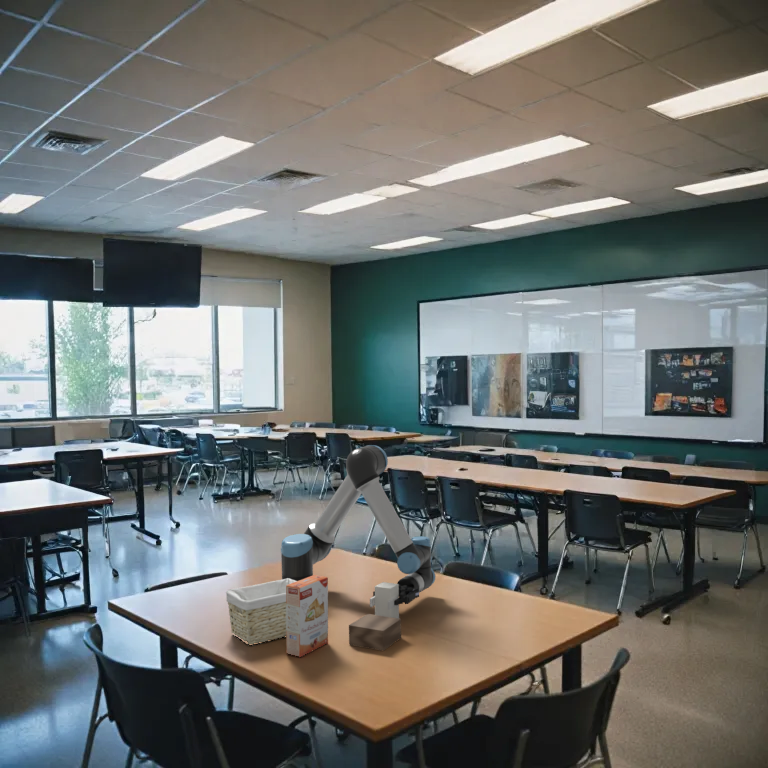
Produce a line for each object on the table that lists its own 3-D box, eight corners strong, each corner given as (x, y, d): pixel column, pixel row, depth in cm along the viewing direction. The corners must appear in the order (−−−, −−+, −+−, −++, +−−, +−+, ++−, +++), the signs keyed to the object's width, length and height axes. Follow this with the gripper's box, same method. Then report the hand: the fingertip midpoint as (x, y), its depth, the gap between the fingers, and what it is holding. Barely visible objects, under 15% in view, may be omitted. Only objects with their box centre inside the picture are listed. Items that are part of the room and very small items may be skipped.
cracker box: (301, 658, 208) (300, 587, 208) (285, 654, 211) (284, 584, 211) (329, 643, 220) (328, 576, 220) (314, 640, 223) (313, 573, 223)
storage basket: (245, 649, 217) (244, 601, 217) (224, 634, 230) (224, 589, 230) (313, 632, 230) (313, 587, 230) (290, 619, 244) (289, 576, 244)
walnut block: (349, 644, 219) (348, 625, 219) (368, 632, 229) (367, 613, 229) (383, 650, 213) (383, 630, 213) (401, 637, 224) (400, 618, 224)
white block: (375, 622, 239) (374, 586, 239) (383, 616, 244) (383, 581, 244) (390, 624, 236) (390, 588, 236) (399, 619, 241) (398, 584, 241)
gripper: (434, 599, 251) (405, 619, 231) (386, 593, 260) (355, 611, 240) (433, 578, 251) (405, 596, 231) (386, 572, 260) (354, 589, 240)
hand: (379, 604), depth 235 cm, fingers closed on white block, 6 cm apart
